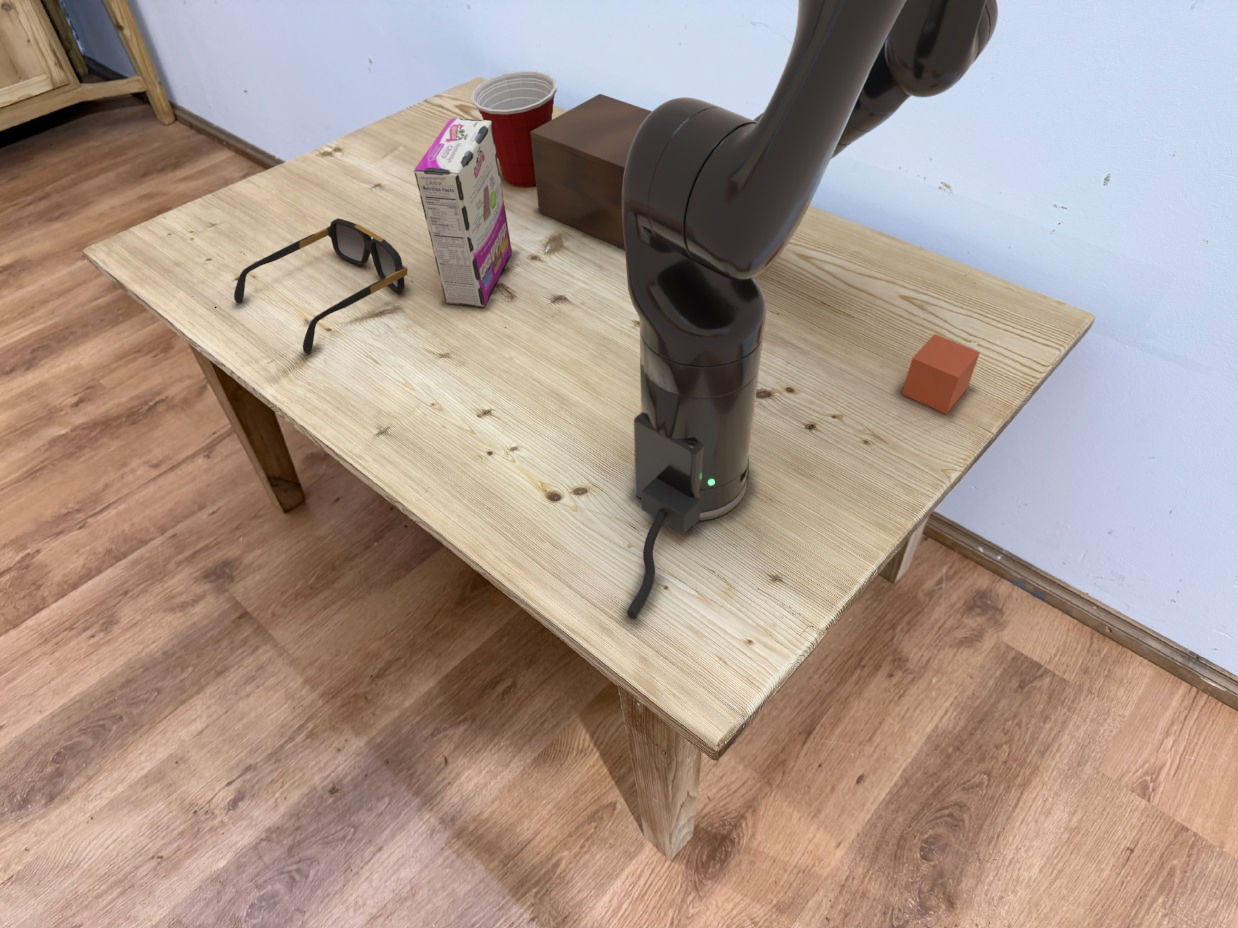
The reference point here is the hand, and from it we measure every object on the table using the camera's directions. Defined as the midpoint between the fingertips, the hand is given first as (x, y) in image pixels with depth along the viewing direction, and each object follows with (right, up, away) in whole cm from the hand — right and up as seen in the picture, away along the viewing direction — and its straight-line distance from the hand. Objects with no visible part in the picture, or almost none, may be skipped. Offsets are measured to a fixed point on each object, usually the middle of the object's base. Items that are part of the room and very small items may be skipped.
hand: (697, 204), depth 98 cm
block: (+22, -23, -15) cm, 35 cm away
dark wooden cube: (-10, +2, +10) cm, 14 cm away
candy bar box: (-25, -9, 0) cm, 27 cm away
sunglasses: (-42, -11, -1) cm, 44 cm away
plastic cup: (-22, +8, +16) cm, 28 cm away
